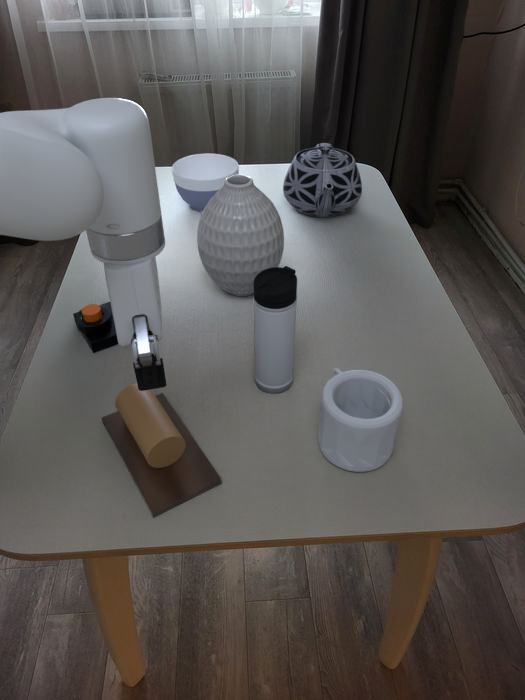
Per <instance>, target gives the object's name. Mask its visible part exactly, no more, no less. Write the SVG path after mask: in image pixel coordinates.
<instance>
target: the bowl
mask: <svg viewBox="0 0 525 700" xmlns="http://www.w3.org/2000/svg"><path fill="white" fill-rule="evenodd" d="M171 173H172V178H173V179H172V180H173V182H174V185H175V188H176V191H177V193H178V194H179V196H180V198H181V199H182V200H183V201H184V202H185V203H186V204H188V205H189V207H190V208H191V209H192V210H194V211H197V212H201V213H202V212H203V210H204V208H205V206H206V204H207V203H208V202H209V200H210V199H211V198H212V197H213V196H214V195H215V194H216V193H217V192H218V191H219V190H220V189H221V188H222V187H223V186H224V181H225V179H226V178H228V177H229V176H233V175H240V165H239V163H238V161H237V160H236V159H235V158H233V157H232V156H228V155H224V154H221V153H195V154H191V155H187V156H184V157H182V158H179V159H177V160H175V162H174V163H173V164H172V166H171Z"/></svg>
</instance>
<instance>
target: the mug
mask: <svg viewBox="0 0 525 700" xmlns="http://www.w3.org/2000/svg"><path fill="white" fill-rule="evenodd" d="M403 408H404V399H403V395H402V393H401V391H400V389H399V388H398V387H397V385H396V384H395V382H393V381H392V380H390V379H389V378H388V377H386V376H384V375H382V374H380V373H378V372H375V371H371V370H366V369H350V370H347V371H346V370H345V371H342V370H341V369H340V368H338V367H334V368H333V370H332V377H331V378H330V379H329V380H328V381H327V382H326V383H325V385H324V387H323V389H322V392H321V402H320V411H319V412H320V413H319V422H318V437H317V441H318V446H319V450H320V451H321V453H322V455H323V456H324V457H325V459H326V460H328V461H329V462H330V463H332V464H333V466H336V467H338V468H340V469H342V470H346V471H349V472H357V473H363V472H371V471H374V470H377V469H379V468H380V467H382V466H383V465H385V464H386V463H387V462H388V461H389V460H390V458H391V455H392V453H393V450H394V447H395V441H396V436H397V432H398V428H399V423H400V419H401V417H402V412H403Z"/></svg>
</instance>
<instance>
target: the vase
mask: <svg viewBox="0 0 525 700" xmlns="http://www.w3.org/2000/svg"><path fill="white" fill-rule="evenodd" d="M196 234H197V235H196V243H197V251H198V254H199V259H200V262H201V264H202V266H203V268H204V270H205V272H206V273H207V275H208V276H209V277H210V278H211V280H212V281H213V282H214V283H215V284H216V285H217V286H218V287H219V288H221V289H222V290H223V291H225V292H226V293H228V294H230V295H233V296H235V297H247V296H252V295H254V285H253V283H254V279H255V277H256V275H257V274H259V273H260V272H261V271H263V270H265V269H268V268H273V267H280V264H281V262H282V259H283V254H284V249H285V248H284V247H285V232H284V227H283V223H282V218H281V215H280V214H279V212H278V209H277V207H276V206H275V204H274V203H273V201H272V200H271V199H270V198H269V197H268V196H267V195H266V194H265V193H264V192H263V191H262V190H261V189H260V188H258V187H257V186H256V185H255V183H254V179H253V178H252V177H250V176H249V175H246V174H239V175H233V176H229V177H228V178H226V179H225V181H224V186H223V187H222V188H221V189H220V190H219V191H218V192H217V193H216V194H215V195H214V196H213V197H212V198H211V199H210V200H209V202H208V203H207V204H206V206H205V208H204V210H203V212H201V215H200V218H199V221H198V225H197V233H196Z"/></svg>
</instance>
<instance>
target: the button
mask: <svg viewBox="0 0 525 700" xmlns="http://www.w3.org/2000/svg"><path fill="white" fill-rule="evenodd" d="M99 305H100V304H96V303H91V304H87V305H85V306H84V307H82V308H81V309H82V315H83V318H84V321H85V322H96V321H99V320H100V319H101V318H102V312H101V308H100V306H99Z"/></svg>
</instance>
